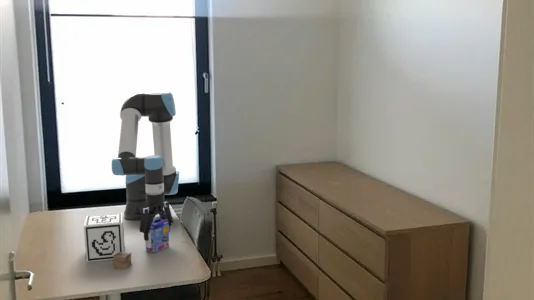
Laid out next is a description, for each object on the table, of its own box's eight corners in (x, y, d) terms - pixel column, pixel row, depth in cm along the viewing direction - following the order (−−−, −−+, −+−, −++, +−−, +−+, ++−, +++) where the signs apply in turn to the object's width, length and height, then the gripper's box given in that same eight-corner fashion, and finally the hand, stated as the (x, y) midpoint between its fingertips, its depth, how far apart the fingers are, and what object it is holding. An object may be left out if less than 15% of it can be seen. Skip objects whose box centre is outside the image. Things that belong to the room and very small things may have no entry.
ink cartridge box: (155, 253, 243) (154, 219, 241) (145, 251, 246) (143, 218, 243) (170, 246, 252) (168, 213, 249) (160, 244, 255) (158, 212, 252)
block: (86, 262, 235) (83, 226, 233) (88, 249, 250) (86, 215, 247) (124, 258, 239) (122, 222, 236) (124, 246, 253) (122, 212, 250)
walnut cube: (120, 263, 233) (119, 251, 232) (131, 264, 231) (130, 252, 231) (113, 268, 228) (112, 256, 227) (125, 269, 227) (124, 257, 226)
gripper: (141, 199, 234) (144, 253, 237) (180, 188, 252) (182, 238, 256) (128, 197, 238) (131, 249, 242) (167, 186, 256) (170, 235, 260)
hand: (157, 243), depth 249 cm, fingers closed on ink cartridge box, 10 cm apart
